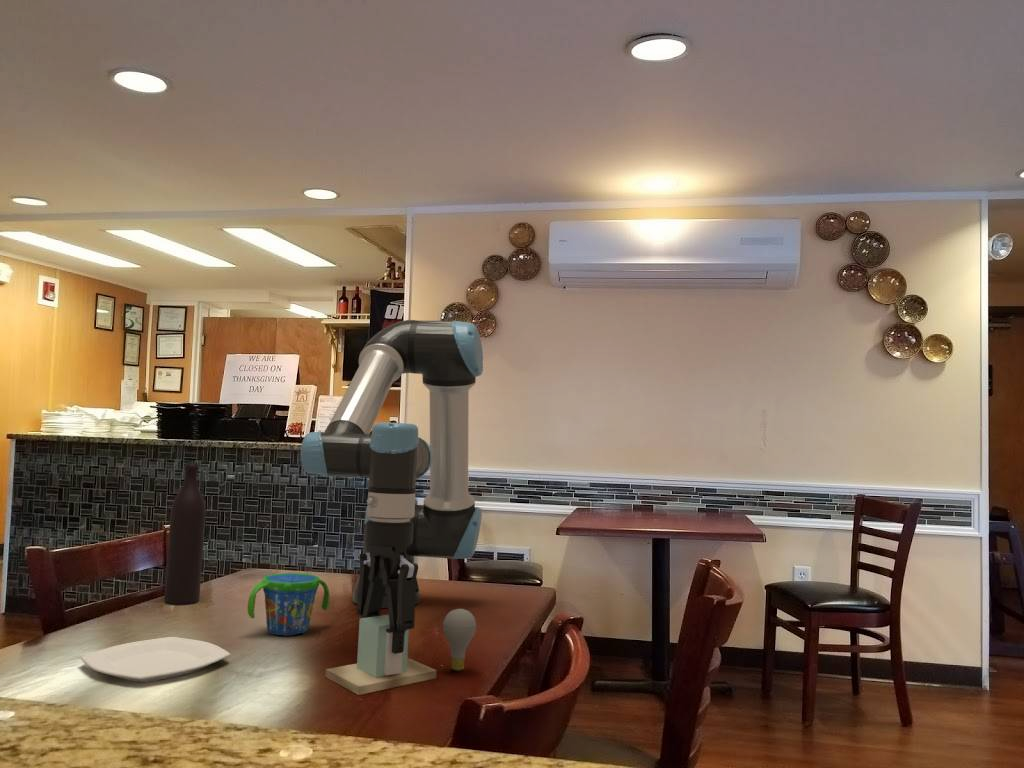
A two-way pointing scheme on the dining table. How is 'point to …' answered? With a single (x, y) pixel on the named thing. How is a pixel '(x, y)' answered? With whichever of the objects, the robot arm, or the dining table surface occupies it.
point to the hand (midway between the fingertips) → (381, 668)
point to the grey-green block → (376, 645)
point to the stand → (367, 683)
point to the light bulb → (459, 634)
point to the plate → (155, 658)
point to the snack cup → (288, 601)
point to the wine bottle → (185, 542)
